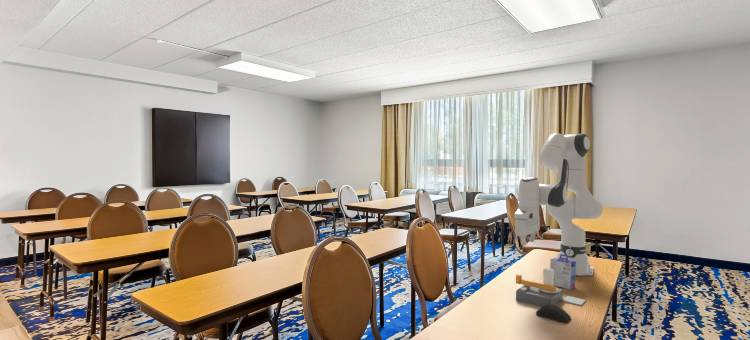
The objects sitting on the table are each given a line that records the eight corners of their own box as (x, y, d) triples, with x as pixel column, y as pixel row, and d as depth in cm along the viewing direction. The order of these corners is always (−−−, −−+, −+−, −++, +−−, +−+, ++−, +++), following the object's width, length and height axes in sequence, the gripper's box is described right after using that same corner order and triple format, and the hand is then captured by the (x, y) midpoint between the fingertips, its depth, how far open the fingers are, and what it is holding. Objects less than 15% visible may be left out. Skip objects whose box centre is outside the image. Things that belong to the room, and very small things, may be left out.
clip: (517, 281, 168) (517, 273, 168) (556, 290, 157) (557, 282, 157) (514, 283, 166) (515, 275, 166) (554, 292, 155) (555, 283, 155)
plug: (541, 295, 166) (542, 265, 166) (560, 300, 161) (561, 269, 161) (535, 300, 161) (536, 269, 160) (554, 305, 156) (555, 273, 155)
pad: (567, 297, 165) (567, 295, 165) (585, 301, 160) (585, 299, 160) (562, 301, 159) (562, 300, 159) (581, 306, 155) (581, 304, 155)
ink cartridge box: (576, 287, 177) (576, 256, 176) (571, 290, 173) (571, 258, 173) (554, 282, 184) (555, 252, 184) (549, 284, 181) (549, 254, 180)
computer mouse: (541, 311, 150) (541, 301, 150) (572, 319, 143) (572, 309, 143) (535, 316, 146) (535, 305, 146) (566, 325, 138) (567, 314, 138)
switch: (529, 290, 172) (529, 279, 172) (562, 298, 163) (562, 286, 163) (515, 299, 161) (516, 288, 161) (550, 309, 152) (550, 296, 151)
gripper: (530, 210, 183) (529, 238, 183) (512, 214, 168) (512, 245, 168) (543, 211, 179) (543, 240, 179) (527, 216, 163) (526, 248, 164)
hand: (527, 243), depth 173 cm, fingers open, 8 cm apart
